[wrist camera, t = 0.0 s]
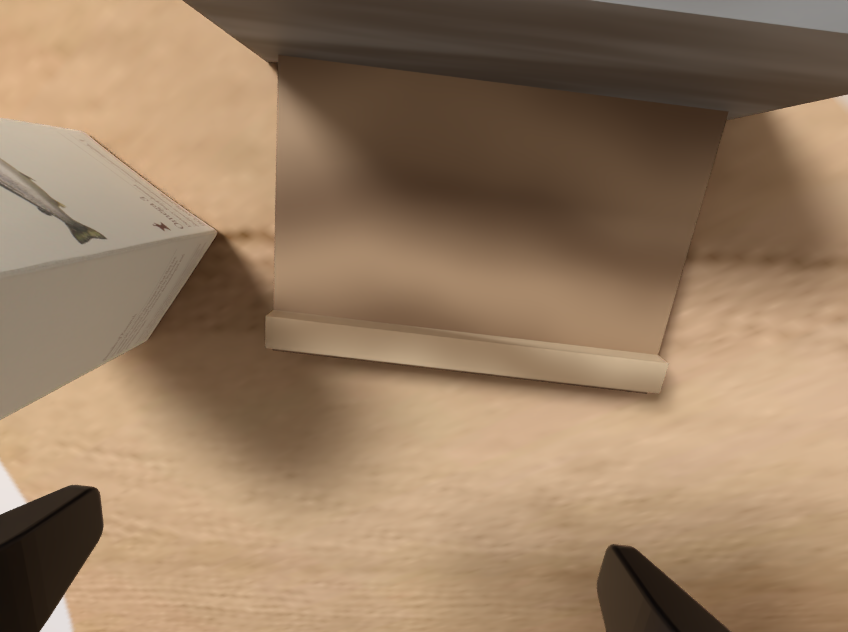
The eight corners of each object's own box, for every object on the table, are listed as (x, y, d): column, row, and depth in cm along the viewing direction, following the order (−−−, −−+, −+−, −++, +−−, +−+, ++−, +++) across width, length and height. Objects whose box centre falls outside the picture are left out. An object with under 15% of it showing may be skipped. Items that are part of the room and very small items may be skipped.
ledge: (652, 382, 23) (812, 527, 13) (263, 337, 22) (136, 451, 13) (744, 68, 19) (1075, -55, 9) (267, 7, 18) (84, -186, 9)
